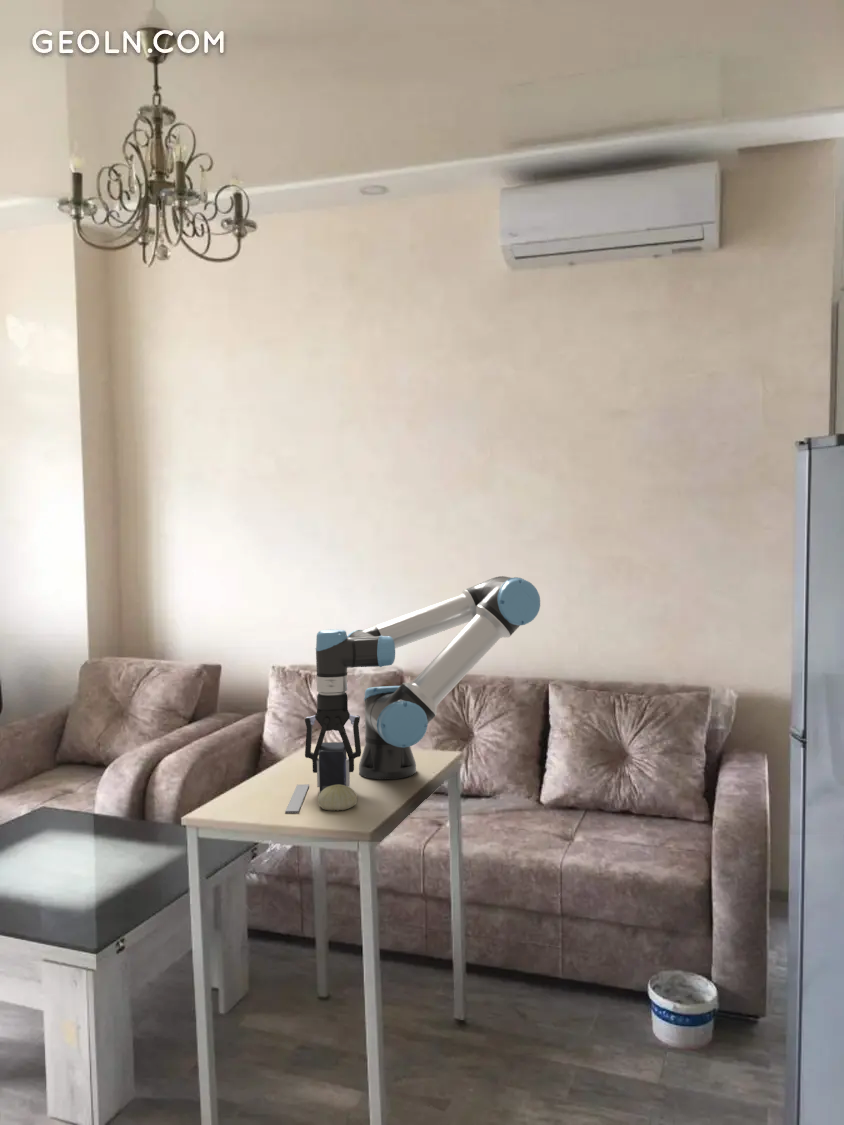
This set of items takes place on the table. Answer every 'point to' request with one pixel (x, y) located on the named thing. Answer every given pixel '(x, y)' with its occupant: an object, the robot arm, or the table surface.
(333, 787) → the sea urchin shell
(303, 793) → the gray strip
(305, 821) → the table surface
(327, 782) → the small box
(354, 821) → the table surface
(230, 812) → the table surface
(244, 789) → the table surface
